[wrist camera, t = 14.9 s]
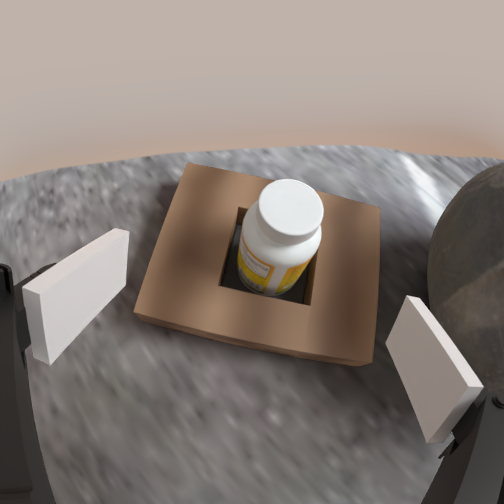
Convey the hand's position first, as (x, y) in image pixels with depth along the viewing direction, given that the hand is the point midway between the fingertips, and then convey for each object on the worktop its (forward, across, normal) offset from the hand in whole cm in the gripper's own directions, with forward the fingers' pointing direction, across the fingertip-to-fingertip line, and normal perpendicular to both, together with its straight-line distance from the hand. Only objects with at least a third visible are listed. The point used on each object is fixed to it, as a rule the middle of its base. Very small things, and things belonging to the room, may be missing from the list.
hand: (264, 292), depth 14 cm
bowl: (+14, +23, -4) cm, 27 cm away
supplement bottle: (+13, +1, -4) cm, 14 cm away
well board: (+13, +1, -4) cm, 14 cm away
